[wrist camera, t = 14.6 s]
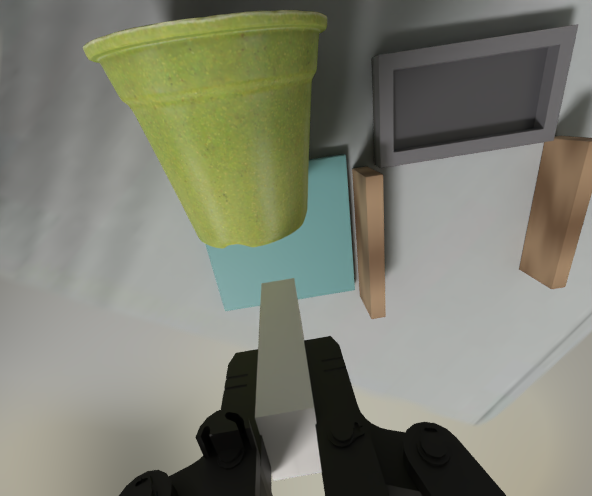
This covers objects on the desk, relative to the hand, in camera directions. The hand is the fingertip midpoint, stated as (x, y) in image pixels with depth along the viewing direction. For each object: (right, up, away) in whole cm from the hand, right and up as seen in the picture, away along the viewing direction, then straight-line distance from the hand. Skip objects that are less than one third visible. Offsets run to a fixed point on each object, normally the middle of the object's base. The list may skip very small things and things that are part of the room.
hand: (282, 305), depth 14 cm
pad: (-1, +3, +7) cm, 8 cm away
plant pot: (-2, +4, +3) cm, 5 cm away
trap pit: (+11, +12, +4) cm, 17 cm away
